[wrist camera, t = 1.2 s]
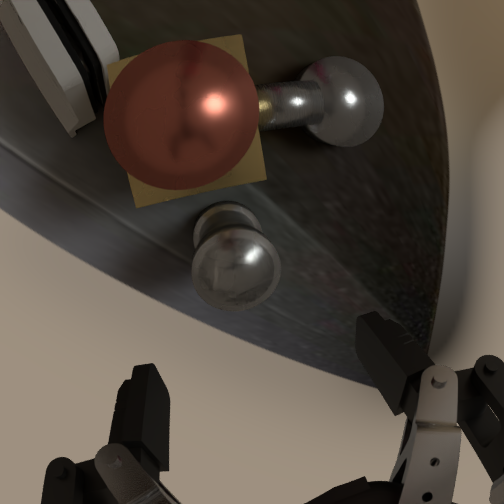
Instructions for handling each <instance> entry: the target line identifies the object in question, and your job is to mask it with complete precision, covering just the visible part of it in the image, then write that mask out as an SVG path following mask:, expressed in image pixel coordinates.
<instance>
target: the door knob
mask: <svg viewBox="0 0 504 504" xmlns="http://www.w3.org/2000/svg"><path fill="white" fill-rule="evenodd" d="M193 242H194V247H195V251H194V253H193V258H192V271H191V274H192V281H193V285H194V288H195V289H196V291H197V293H198V294H199V296H200V297H201V298H202V299H203V300H204V301H205V302H207V303H208V304H210V305H211V306H213V307H215V308H218V309H221V310H226V311H242V310H247V309H250V308H253V307H255V306H257V305H259V304H261V303H262V302H263V301H265V300H266V299H267V298H268V297H269V296H270V295H271V294H272V293H273V291H274V290H275V288H276V286H277V284H278V282H279V279H280V275H281V263H280V258H279V256H278V253H277V251H276V250H275V248H274V246H273V245H272V243H271V241H270V240H269V239H268V237H267V236H266V235H265V234H264V233H262V230H261V226H260V224H259V222H258V220H257V218H256V217H255V215H254V214H253V212H252V211H251V210H250V209H249V208H247V207H246V206H245V205H243V204H241V203H238V202H234V201H221V202H217V203H214V204H212V205H210V206H208V207H207V208H206V209H204V210H203V211H202V212H201V214H200V215H199V216H198V218H197V220H196V223H195V226H194V234H193Z"/></svg>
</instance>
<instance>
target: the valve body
mask: <svg viewBox="0 0 504 504" xmlns="http://www.w3.org/2000/svg"><path fill="white" fill-rule="evenodd" d="M107 71H108V77H109V84H110V91H109V93H108V96H107V99H106V103H105V108H104V131H105V136H106V140H107V143H108V146H109V148H110V150H111V152H112V154H113V156H114V157H115V159H116V160H117V162H118V163H119V164H120V165H121V166H122V168H123V169H125V170H126V171H127V174H128V178H129V182H130V186H131V190H132V194H133V198H134V202H135V205H136V208H140V207H144V206H148V205H151V204H155V203H160V202H164V201H168V200H172V199H176V198H180V197H185V196H189V195H193V194H198V193H202V192H207V191H212V190H216V189H221V188H226V187H231V186H236V185H241V184H246V183H251V182H256V181H262V180H267V178H266V172H265V166H264V159H263V153H262V147H261V141H260V135H259V132H261V131H268V130H275V129H282V128H290V127H298V126H300V127H301V129H302V130H303V131H304V132H305V133H306V134H307V135H309V136H310V137H311V138H313V139H315V140H317V141H319V142H321V143H325V144H329V145H335V146H342V147H351V146H356V145H359V144H361V143H363V142H365V141H367V140H368V139H369V138H370V137H371V136H373V134H374V133H375V132H376V131H377V129H378V127H379V125H380V123H381V120H382V117H383V110H384V103H383V96H382V92H381V89H380V87H379V84H378V83H377V81H376V79H375V78H374V76H373V75H372V74H371V73H370V72H369V70H368V69H366V68H365V67H364V66H363V65H361V64H360V63H358V62H356V61H354V60H352V59H349V58H346V57H339V56H333V57H327V58H323V59H321V60H319V61H317V62H315V63H313V64H311V65H309V66H307V67H306V68H305V69H303V70H302V71H301V72H300V73H299V74H298V76H297V77H296V79H295V81H290V82H279V83H269V84H260V85H254V83H253V81H252V79H251V77H250V75H249V72H248V66H247V61H246V55H245V50H244V45H243V40H242V35H233V36H225V37H218V38H212V39H206V40H200V41H190V40H182V41H173V42H167V43H164V44H160V45H157V46H155V47H152V48H150V49H148V50H146V51H145V52H143V53H141V54H139V55H136V56H133V57H129V58H126V59H123V60H120V61H117V62H114V63H111V64H108V65H107Z"/></svg>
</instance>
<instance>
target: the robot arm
mask: <svg viewBox="0 0 504 504" xmlns="http://www.w3.org/2000/svg"><path fill="white" fill-rule="evenodd" d="M355 348H356V353H357V356H358V358H359V360H360V361H361V363H362V364H363V366H364V368H365V369H366V371H367V372H368V374H369V375H370V377H371V379H372V380H373V382H374V383H375V385H376V386H377V388H378V390H379V391H380V393H381V394H382V396H383V398H384V399H385V401H386V402H387V404H388V406H389V407H390V409H391V410H392V412H393V414H394V415H395V416H396V415H399V414H401V413H403V412H404V413H405V414H406V416H407V419H406V422H405V427H404V432H403V437H402V441H401V446H400V450H399V453H398V457H397V461H396V464H395V466H394V469H393V471H392V474H391V477H390V480H389V482H388V481H372V482H367V480H366V477H365V476H364V477H361V478H359V479H356V480H354V481H351V482H349V483H345V484H343V485H340V486H337V487H334V488H332V489H330V490H329V491H327V492H325V493H324V494H322V495H320V496H318V497H316V498H314V499H312V500H311V501H309V502H307V503H304V504H456V503H453V502H452V497H453V492H454V487H455V481H456V475H457V468H458V461H459V452H460V443H461V429H462V431H463V432H464V434H465V436H466V437H467V439H468V440H469V442H470V444H471V445H472V447H473V449H474V450H475V452H476V454H477V455H478V457H479V459H480V460H481V462H482V464H483V466H484V468H485V469H486V471H487V473H488V475H489V476H490V478H491V480H492V482H493V485H492V487H491V492H490V498H489V501H490V503H491V504H504V362H503V361H502V360H501V359H499V358H498V357H496V356H493V355H484V356H482V357H480V358H479V359H478V360H477V361H476V363H475V366H474V368H470V369H465V370H460V371H453V370H452V369H451V368H449V367H447V366H444V365H435V364H434V362H433V361H432V360H431V359H430V358H429V357H428V355H427V354H426V353H425V352H424V351H423V350H422V349H421V347H420V346H419V345H418V344H417V343H416V342H415V341H413V338H412V337H411V336H410V335H408V333H407V332H406V331H405V329H404V328H403V327H402V326H401V325H400V324H398V323H396V322H394V321H392V320H390V319H389V320H386V321H385V320H384V319H383V318H382V317H381V316H380V315H379V313H378V312H376V311H373V312H370V313H367V314H364V315H361V316H358V317H357V321H356V340H355ZM116 402H117V403H116V404H115V411H114V414H113V420H112V425H111V430H110V436H109V442H108V445H105V446H104V447H102V448H101V449H100V450H99V451H98V453H97V454H96V456H95V458H94V459H91V460H87V461H84V462H80V463H76V464H75V463H73V462H72V461H71V460H70V459H68V458H66V457H59V458H56V459H54V460H52V461H51V462H50V463H49V465H48V467H47V469H46V474H45V480H44V486H43V492H42V500H41V504H181V503H180V502H179V501H178V500H177V499H176V498H175V496H174V495H173V494H172V493H171V492H170V491H169V490H168V489H167V488H166V487H165V486H164V485H163V484H162V482H161V481H160V480H159V473H160V472H161V471H169V426H170V425H169V424H170V397H169V393H168V390H167V387H166V386H165V384H164V382H163V380H162V378H161V376H160V374H159V372H158V370H157V368H156V366H155V365H154V364H153V363H150V364H143V365H137V366H134V368H133V372H132V378H131V379H129V380H125V381H124V382H123V384H122V385H121V387H120V388H119V390H118V394H117V399H116ZM488 405H489V406H488ZM490 408H491V409H492V410H493V412H494V413H495V414H494V413H493V412H492V410H491V409H490ZM495 415H496V416H497V417H496V416H495ZM497 418H498V419H499V420H498V419H497ZM456 423H458V424H459V426H460V427H459V426H457V424H456Z"/></svg>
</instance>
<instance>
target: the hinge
mask: <svg viewBox="0 0 504 504" xmlns="http://www.w3.org/2000/svg"><path fill="white" fill-rule="evenodd" d="M0 21H1V23H2V25H3V27H4V29H5V31H6V32H7V34H8V36H9V38H10V40H11V42H12V44H13V45H14V47H15V49H16V51H17V53H18V54H19V56H20V58H21V60H22V61H23V63H24V65H25V66H26V68H27V70H28V72H29V73H30V75H31V77H32V78H33V80H34V81H35V83H36V85H37V86H38V88H39V90H40V91H41V93H42V94H43V96H44V98H45V99H46V101H47V102H48V104H49V105H50V107H51V108H52V110H53V111H54V113H55V114H56V116H57V118H58V119H59V121H60V122H61V124H62V125H63V126H64V128H65V129H66V131H67V132H68V134H69V135H70V136H71V138H73V137H74V136H76V135H77V134H76V132H75V130H77V129H79V128H81V127H82V126H84V125H86V124H88V123H90V122H92V121H93V120H95V119H96V117H95V114H96V113H97V112H99V111H98V108H97V105H96V101H95V98H94V95H95V96H96V97H97V99H98V100H99V102H100V103H101V105H102V106H103V107H105V103H106V99H107V96H108V93H109V91H110V84H109V77H108V71H107V65H108V64H111V63H114V62H117V61H119V52H118V49H117V46H116V44H115V42H114V41H113V39H112V37H111V35H110V33H109V32H108V30H107V28H106V26H105V25H104V23H103V21H102V20H101V18H100V16H99V15H98V13H97V11H96V9H95V8H94V6H93V5H92V3H91V2H90V0H4V2H3V3H2V5H1V6H0ZM93 93H94V95H93Z"/></svg>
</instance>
